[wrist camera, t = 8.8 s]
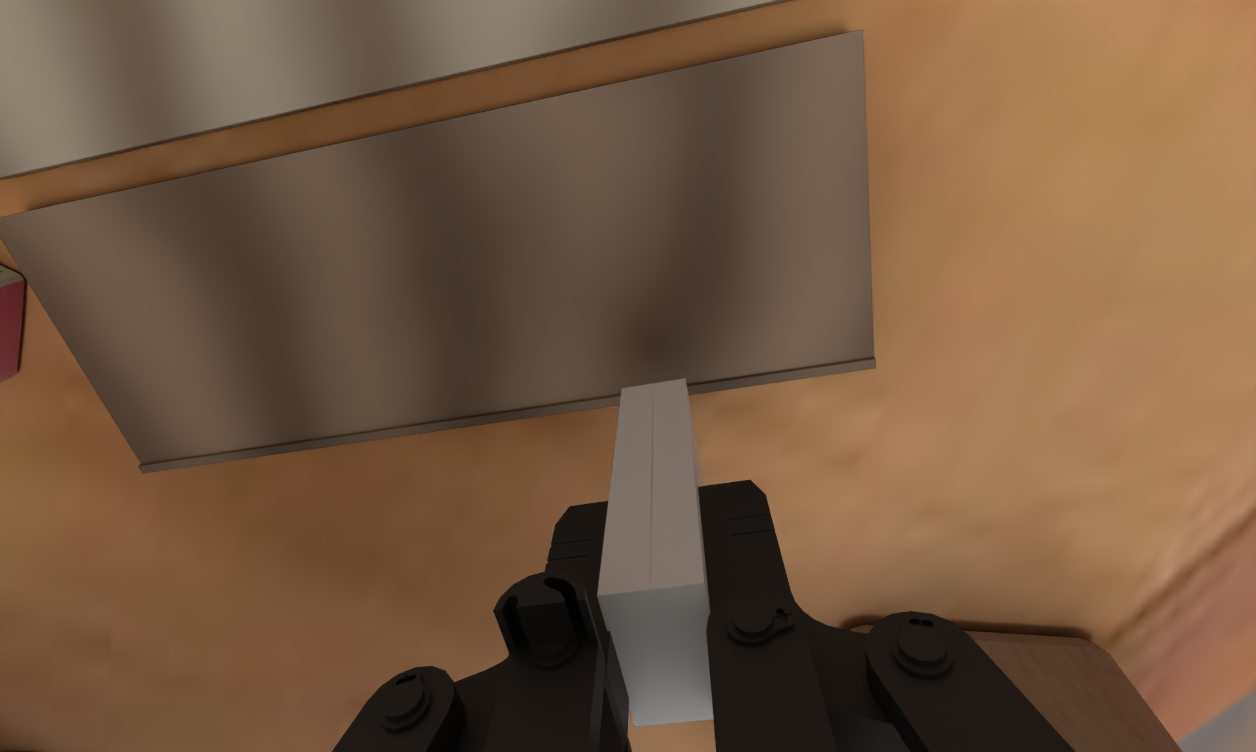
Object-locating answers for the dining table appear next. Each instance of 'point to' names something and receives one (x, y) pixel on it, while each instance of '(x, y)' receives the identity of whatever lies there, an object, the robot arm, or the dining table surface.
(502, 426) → the dining table surface
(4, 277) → the small box
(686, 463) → the robot arm
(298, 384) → the plank
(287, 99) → the laid board
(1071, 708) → the wooden block
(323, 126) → the dining table surface
